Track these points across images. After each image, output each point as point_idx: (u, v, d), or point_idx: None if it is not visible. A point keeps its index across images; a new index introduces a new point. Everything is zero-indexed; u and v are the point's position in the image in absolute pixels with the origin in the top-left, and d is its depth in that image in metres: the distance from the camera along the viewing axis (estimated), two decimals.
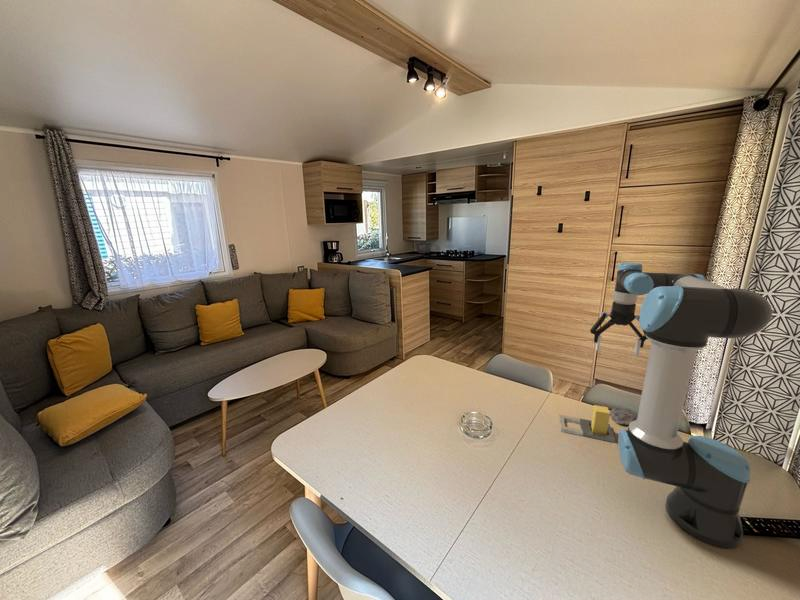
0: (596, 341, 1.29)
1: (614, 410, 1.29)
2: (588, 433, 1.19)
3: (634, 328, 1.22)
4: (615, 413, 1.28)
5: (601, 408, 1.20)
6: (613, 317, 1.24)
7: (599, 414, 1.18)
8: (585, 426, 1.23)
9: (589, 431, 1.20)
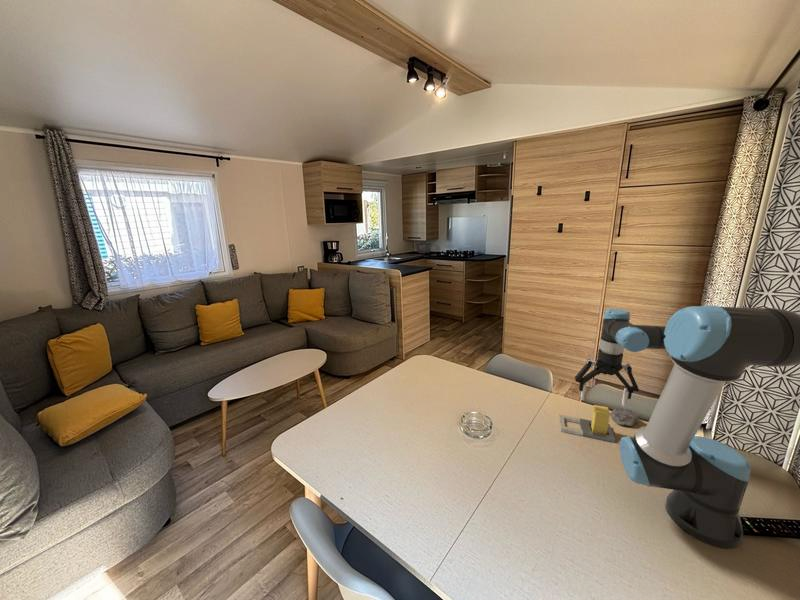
0: (581, 389, 1.21)
1: (615, 411, 1.29)
2: (588, 433, 1.19)
3: (621, 379, 1.14)
4: (616, 414, 1.28)
5: (601, 408, 1.20)
6: (599, 366, 1.16)
7: (599, 414, 1.18)
8: (585, 426, 1.23)
9: (589, 431, 1.20)
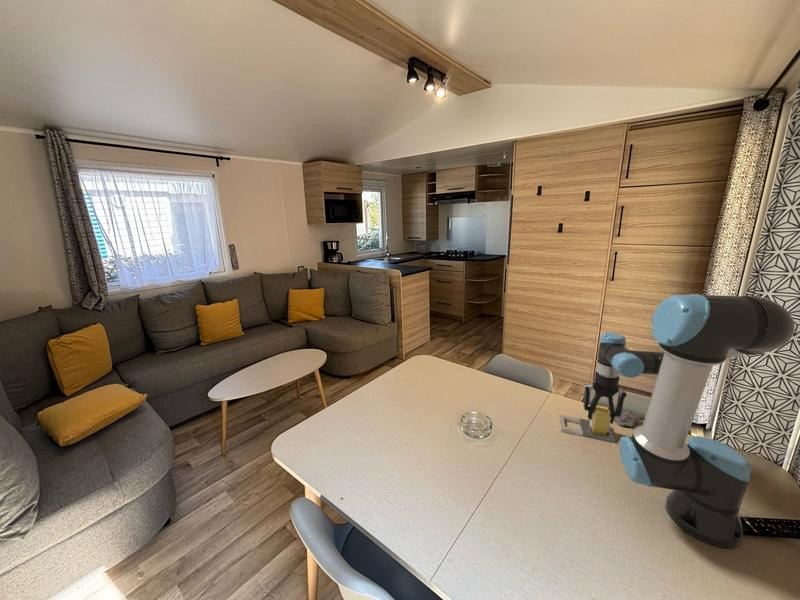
0: (590, 418, 1.21)
1: None
2: (588, 433, 1.19)
3: (611, 402, 1.17)
4: None
5: (601, 408, 1.20)
6: (597, 388, 1.18)
7: (599, 414, 1.18)
8: (585, 426, 1.23)
9: (589, 431, 1.20)
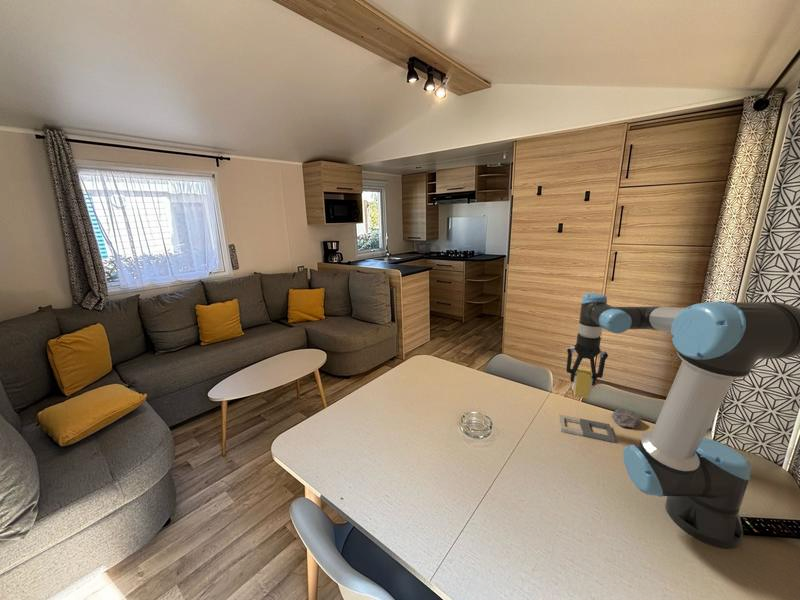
0: (572, 380, 1.21)
1: (617, 412, 1.28)
2: (588, 433, 1.19)
3: (592, 364, 1.16)
4: (618, 415, 1.27)
5: (583, 370, 1.20)
6: (578, 350, 1.17)
7: (581, 376, 1.18)
8: (585, 426, 1.23)
9: (589, 431, 1.20)
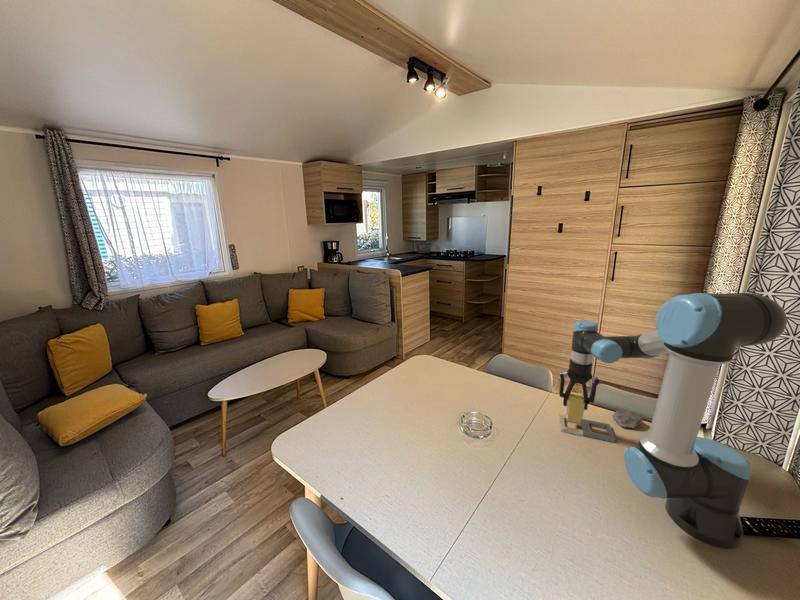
0: (565, 404, 1.24)
1: (617, 413, 1.28)
2: (588, 433, 1.19)
3: (584, 389, 1.19)
4: (618, 416, 1.26)
5: (575, 395, 1.23)
6: (571, 375, 1.20)
7: (573, 401, 1.21)
8: (585, 426, 1.23)
9: (589, 431, 1.20)
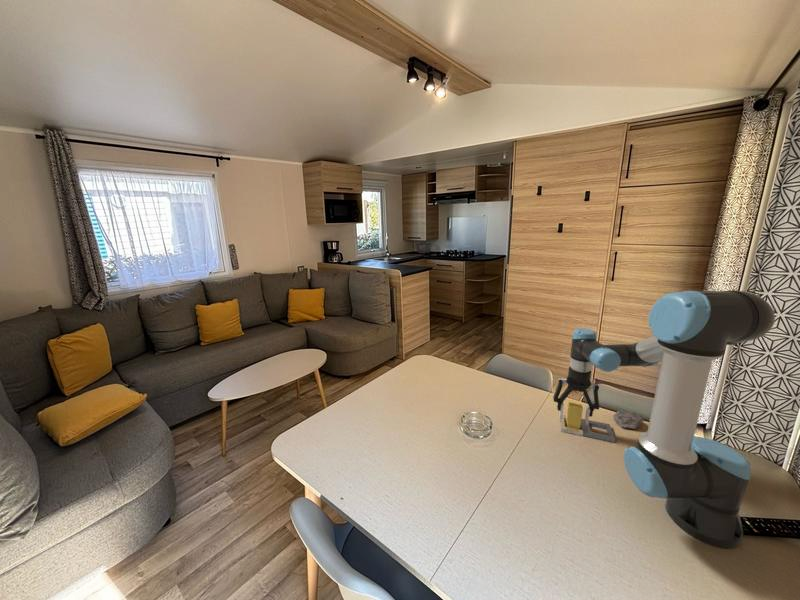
0: (559, 409, 1.25)
1: (618, 413, 1.27)
2: (588, 433, 1.19)
3: (586, 396, 1.20)
4: (619, 416, 1.26)
5: (575, 403, 1.24)
6: (569, 383, 1.21)
7: (572, 409, 1.22)
8: (585, 426, 1.23)
9: (589, 431, 1.20)
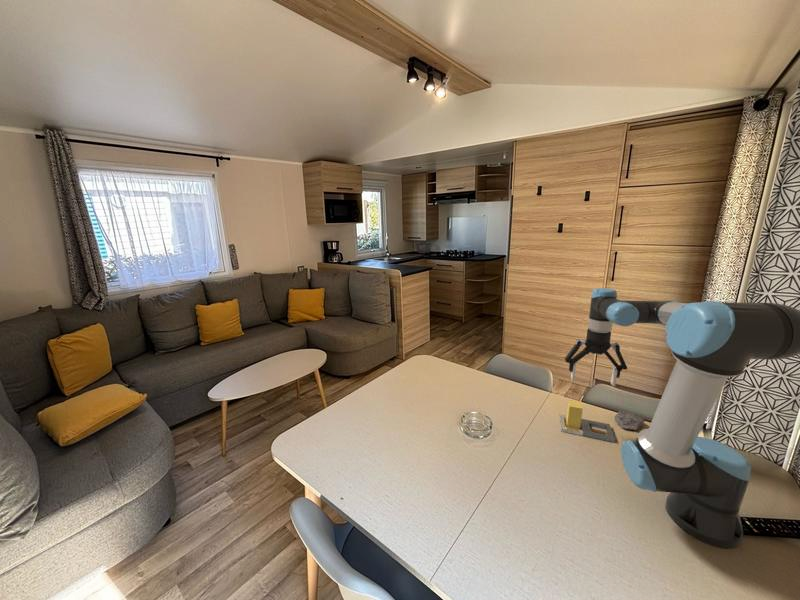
0: (571, 370, 1.21)
1: (619, 414, 1.26)
2: (588, 433, 1.19)
3: (610, 357, 1.15)
4: (620, 417, 1.25)
5: (575, 403, 1.24)
6: (588, 345, 1.17)
7: (572, 409, 1.22)
8: (585, 426, 1.23)
9: (589, 431, 1.20)
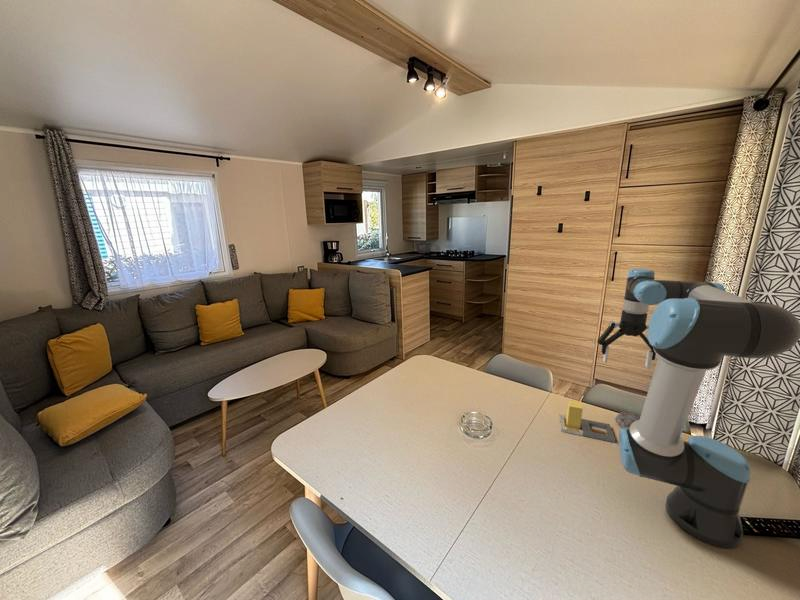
0: (604, 352, 1.21)
1: (620, 415, 1.26)
2: (588, 433, 1.19)
3: (645, 339, 1.14)
4: (621, 419, 1.25)
5: (575, 403, 1.24)
6: (622, 327, 1.16)
7: (572, 409, 1.22)
8: (585, 426, 1.23)
9: (589, 431, 1.20)
